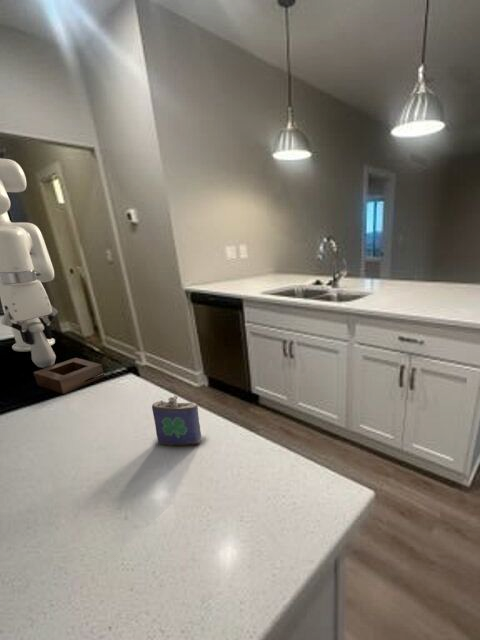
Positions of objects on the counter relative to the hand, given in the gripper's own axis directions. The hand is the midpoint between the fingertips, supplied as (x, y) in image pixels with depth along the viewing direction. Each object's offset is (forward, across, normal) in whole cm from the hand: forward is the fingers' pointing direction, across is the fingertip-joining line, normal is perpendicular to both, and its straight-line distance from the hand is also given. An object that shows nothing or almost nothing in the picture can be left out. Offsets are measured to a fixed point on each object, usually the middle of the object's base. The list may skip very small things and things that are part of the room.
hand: (38, 340), depth 100 cm
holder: (+10, 0, +12) cm, 16 cm away
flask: (+9, +8, +61) cm, 62 cm away
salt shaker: (+8, 0, 0) cm, 8 cm away
